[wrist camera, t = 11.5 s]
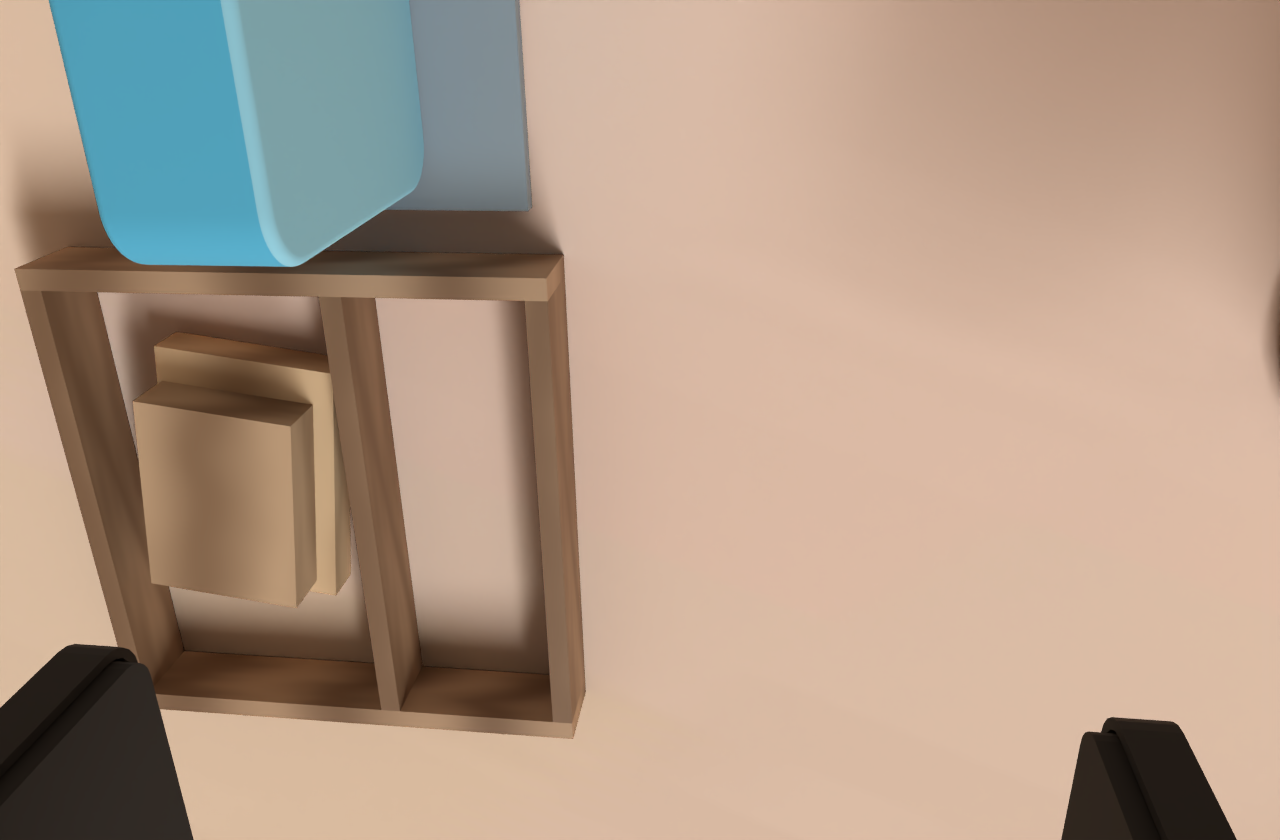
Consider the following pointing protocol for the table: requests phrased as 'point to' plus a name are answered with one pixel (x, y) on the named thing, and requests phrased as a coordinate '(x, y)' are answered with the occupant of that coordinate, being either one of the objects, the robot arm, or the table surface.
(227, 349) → the offcut stack
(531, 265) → the rack
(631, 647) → the table surface
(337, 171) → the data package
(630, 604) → the table surface
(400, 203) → the mat
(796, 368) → the table surface
